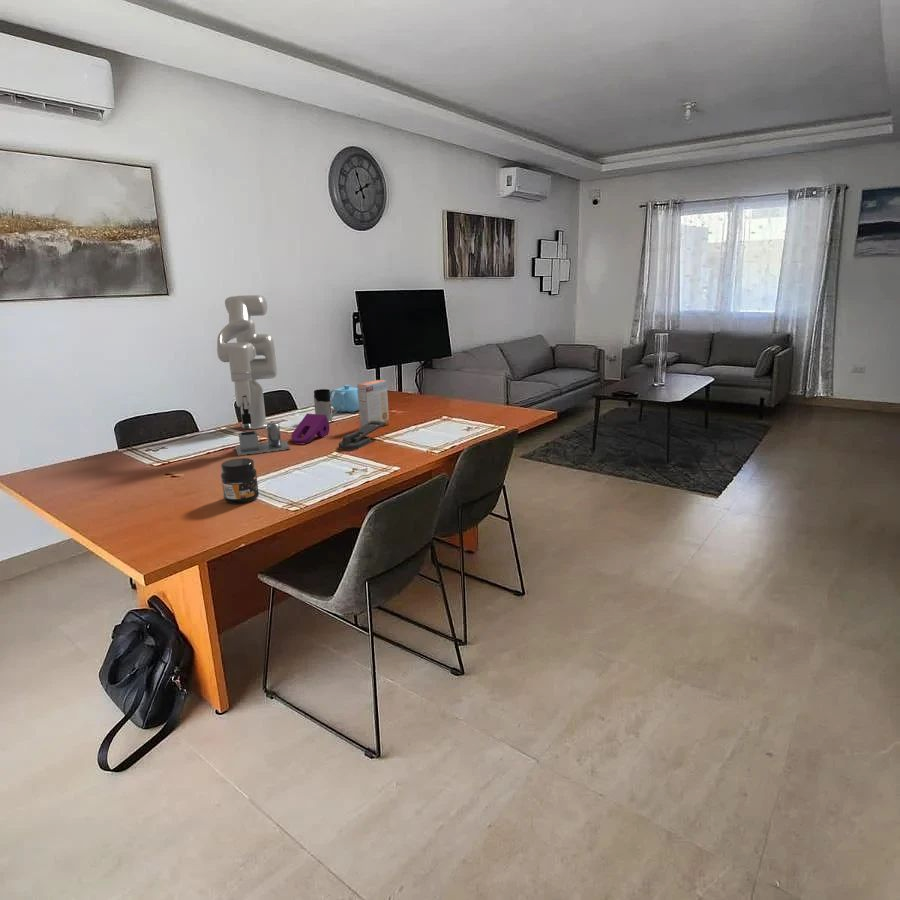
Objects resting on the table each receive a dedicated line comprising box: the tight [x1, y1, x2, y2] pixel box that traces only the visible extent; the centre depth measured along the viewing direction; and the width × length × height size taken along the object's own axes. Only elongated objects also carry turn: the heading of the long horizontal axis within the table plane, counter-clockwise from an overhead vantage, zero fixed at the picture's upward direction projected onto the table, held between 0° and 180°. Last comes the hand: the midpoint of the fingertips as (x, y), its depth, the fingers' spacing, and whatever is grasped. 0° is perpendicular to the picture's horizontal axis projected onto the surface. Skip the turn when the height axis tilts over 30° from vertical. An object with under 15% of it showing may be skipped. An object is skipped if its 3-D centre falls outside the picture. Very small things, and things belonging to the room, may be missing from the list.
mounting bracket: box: [290, 413, 330, 444], centre depth 257 cm, size 10×8×18 cm
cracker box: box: [356, 379, 390, 428], centre depth 273 cm, size 14×6×21 cm, turn 144°
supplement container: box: [220, 457, 260, 505], centre depth 185 cm, size 10×10×12 cm
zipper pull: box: [338, 421, 386, 451], centre depth 249 cm, size 9×7×25 cm
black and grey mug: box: [313, 388, 343, 423], centre depth 287 cm, size 9×14×15 cm, turn 96°
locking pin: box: [239, 404, 251, 430], centre depth 236 cm, size 3×3×10 cm
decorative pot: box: [330, 384, 359, 414], centre depth 310 cm, size 16×16×14 cm
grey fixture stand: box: [234, 422, 291, 457], centre depth 241 cm, size 12×20×10 cm, turn 114°
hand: (246, 422), depth 237 cm, fingers closed on locking pin, 3 cm apart
